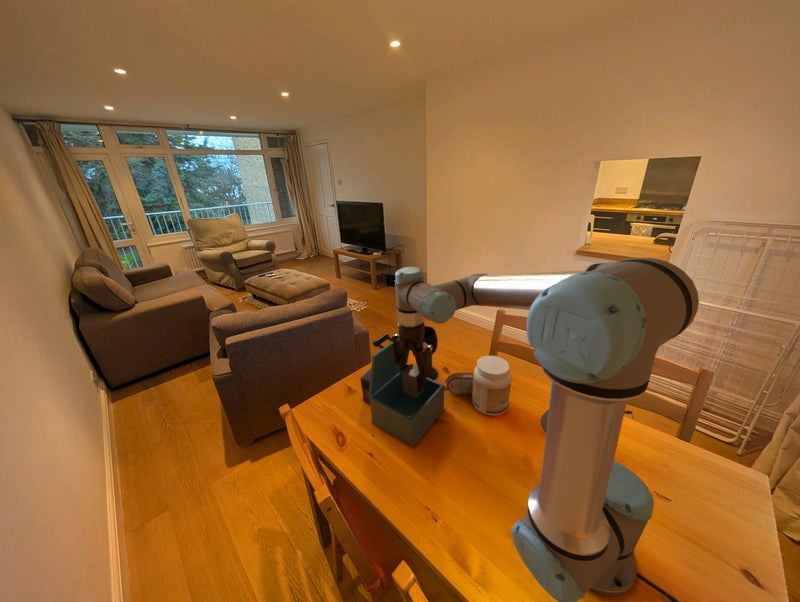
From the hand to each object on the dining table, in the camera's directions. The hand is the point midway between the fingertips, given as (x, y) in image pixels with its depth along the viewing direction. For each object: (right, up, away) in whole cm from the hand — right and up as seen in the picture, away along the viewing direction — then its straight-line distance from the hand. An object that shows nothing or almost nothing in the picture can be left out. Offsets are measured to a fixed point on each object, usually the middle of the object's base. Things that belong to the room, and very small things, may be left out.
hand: (413, 386), depth 92 cm
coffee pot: (+49, -15, -4) cm, 52 cm away
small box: (-13, -8, +18) cm, 23 cm away
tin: (+20, -7, +16) cm, 27 cm away
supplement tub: (+27, -9, +10) cm, 31 cm away
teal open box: (-1, -12, +7) cm, 14 cm away
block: (0, -2, +1) cm, 2 cm away
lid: (-7, +7, +3) cm, 10 cm away
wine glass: (+6, -3, +27) cm, 28 cm away
